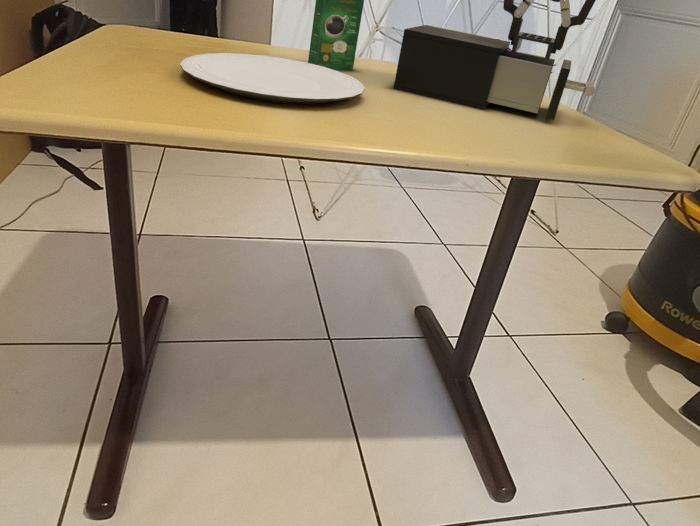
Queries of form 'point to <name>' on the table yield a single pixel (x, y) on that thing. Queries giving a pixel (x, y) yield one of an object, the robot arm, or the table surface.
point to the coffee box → (335, 33)
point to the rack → (534, 38)
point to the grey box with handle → (530, 82)
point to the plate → (272, 78)
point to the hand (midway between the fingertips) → (533, 48)
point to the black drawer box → (448, 65)
